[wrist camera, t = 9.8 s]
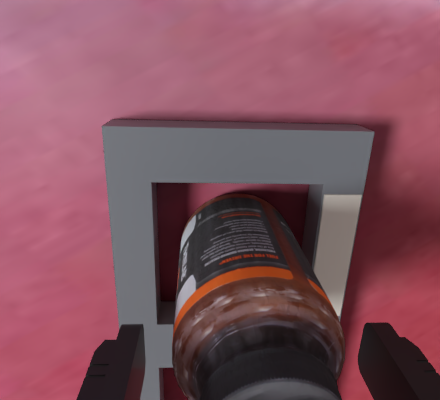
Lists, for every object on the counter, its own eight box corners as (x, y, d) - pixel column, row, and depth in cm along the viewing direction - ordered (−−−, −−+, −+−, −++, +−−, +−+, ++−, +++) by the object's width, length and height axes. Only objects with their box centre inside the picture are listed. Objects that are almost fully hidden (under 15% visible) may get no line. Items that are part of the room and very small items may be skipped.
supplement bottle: (158, 230, 20) (111, 428, 9) (248, 167, 19) (316, 305, 8) (222, 303, 21) (245, 536, 11) (307, 249, 20) (424, 447, 10)
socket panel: (356, 124, 18) (375, 131, 16) (302, 452, 27) (311, 483, 25) (112, 119, 17) (101, 126, 15) (138, 458, 26) (132, 491, 24)
